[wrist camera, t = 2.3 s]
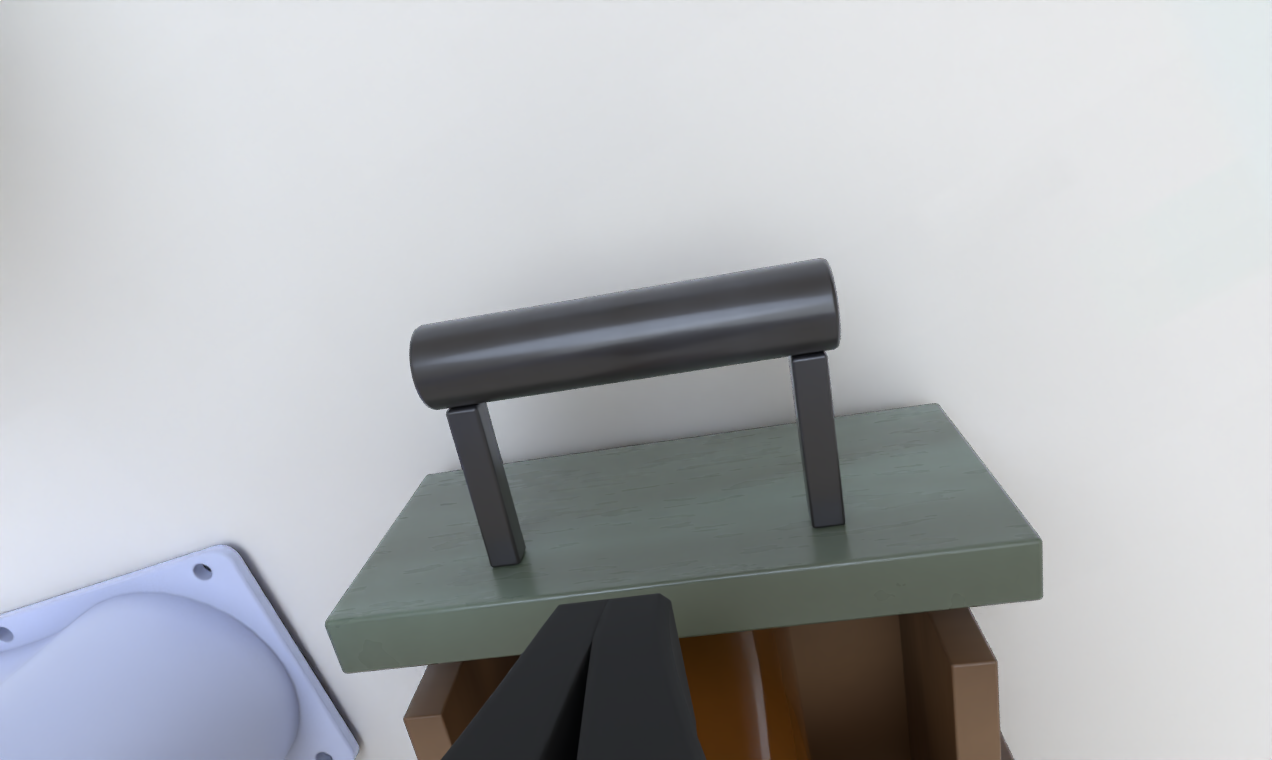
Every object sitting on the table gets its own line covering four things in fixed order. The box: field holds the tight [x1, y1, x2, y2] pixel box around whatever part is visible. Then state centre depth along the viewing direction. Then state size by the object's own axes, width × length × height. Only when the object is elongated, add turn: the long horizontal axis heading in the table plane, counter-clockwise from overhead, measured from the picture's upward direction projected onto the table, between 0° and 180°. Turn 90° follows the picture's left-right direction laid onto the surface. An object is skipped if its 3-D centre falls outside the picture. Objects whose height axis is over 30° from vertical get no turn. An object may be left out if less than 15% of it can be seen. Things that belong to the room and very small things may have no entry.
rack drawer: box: [325, 258, 1043, 760], centre depth 17 cm, size 17×12×6 cm
